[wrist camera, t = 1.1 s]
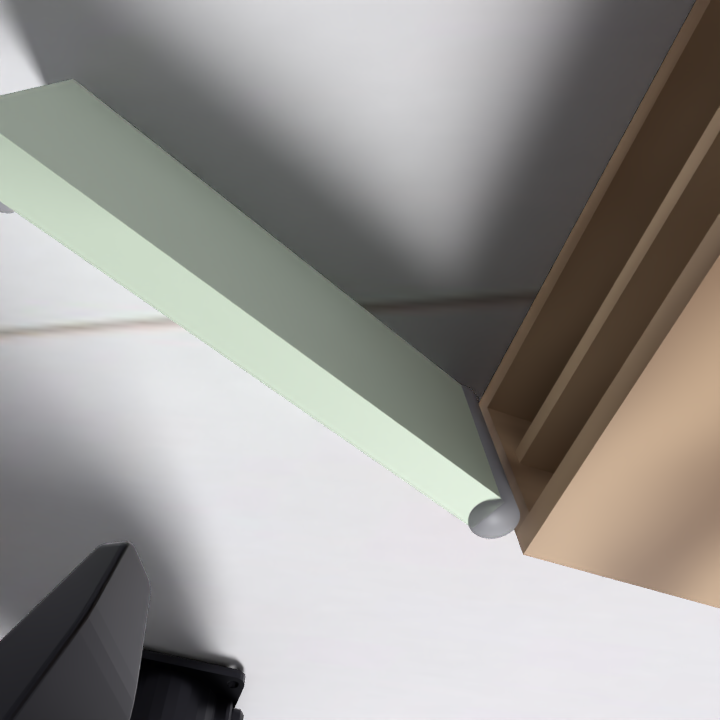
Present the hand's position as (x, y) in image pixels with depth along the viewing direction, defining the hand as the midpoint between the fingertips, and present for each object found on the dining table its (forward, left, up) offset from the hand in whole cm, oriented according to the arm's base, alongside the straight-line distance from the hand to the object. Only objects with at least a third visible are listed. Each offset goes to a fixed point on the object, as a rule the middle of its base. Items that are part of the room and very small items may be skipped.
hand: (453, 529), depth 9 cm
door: (-3, -2, -13) cm, 13 cm away
